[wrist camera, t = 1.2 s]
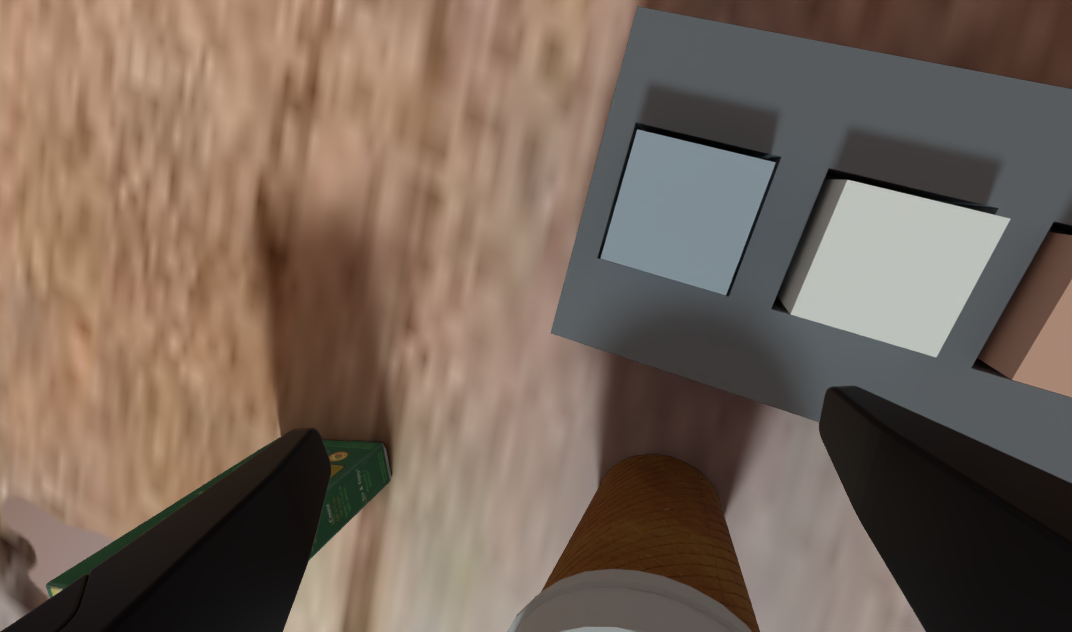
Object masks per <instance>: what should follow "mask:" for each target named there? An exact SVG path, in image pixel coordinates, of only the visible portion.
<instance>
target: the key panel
mask: <svg viewBox="0 0 1072 632" xmlns="http://www.w3.org/2000/svg"><path fill="white" fill-rule="evenodd" d="M637 129H638V130H642V131H646V132H650V133H654V134H659V135H663V136H667V137H671V138H675V139H680V140H684V141H688V142H692V143H696V144H700V145H705V146H709V147H713V148H717V149H721V150H725V151H730V152H734V153H738V154H742V155H746V156H751V157H755V158H759V159H763V160H767V161H771V162H776V163H775V166H774V169H773V171H772V174H771V177H770V179H769V182H768V185H767V187H766V190H765V193H764V195H763V198H762V201H761V203H760V206H759V209H758V211H757V214H756V217H755V219H754V222H753V225H752V227H751V230H750V233H749V235H748V238H747V241H746V243H745V246H744V249H743V251H742V254H741V257H740V259H739V262H738V265H737V267H736V270H735V273H734V275H733V278H732V281H731V283H730V286H729V289H728V291H727V294H726V295H722V294H719V293H716V292H712V291H709V290H706V289H702V288H699V287H695V286H692V285H689V284H685V283H682V282H678V281H675V280H672V279H668V278H665V277H661V276H658V275H655V274H651V273H648V272H644V271H641V270H638V269H634V268H631V267H627V266H624V265H621V264H617V263H614V262H611V261H607V260H604V259H601V255H602V251H603V248H604V244H605V241H606V237H607V234H608V230H609V227H610V223H611V220H612V216H613V213H614V209H615V206H616V202H617V199H618V195H619V192H620V188H621V185H622V181H623V178H624V174H625V171H626V167H627V164H628V160H629V157H630V153H631V150H632V146H633V143H634V139H635V136H636V132H637ZM824 179H838V180H851V181H855V182H859V183H863V184H868V185H872V186H876V187H880V188H884V189H888V190H893V191H897V192H901V193H905V194H909V195H914V196H918V197H922V198H926V199H930V200H934V201H939V202H943V203H947V204H951V205H955V206H959V207H964V208H968V209H972V210H976V211H980V212H985V213H989V214H993V215H997V216H1001V217H1005V218H1010V221H1009V223H1008V225H1007V227H1006V229H1005V230H1004V232H1003V234H1002V236H1001V238H1000V240H999V242H998V243H997V245H996V247H995V249H994V251H993V253H992V255H991V257H990V258H989V260H988V262H987V264H986V266H985V268H984V270H983V271H982V273H981V275H980V277H979V279H978V281H977V283H976V285H975V286H974V288H973V290H972V292H971V294H970V296H969V298H968V299H967V301H966V303H965V305H964V307H963V309H962V311H961V313H960V314H959V316H958V318H957V320H956V322H955V324H954V326H953V327H952V329H951V331H950V333H949V335H948V337H947V339H946V341H945V342H944V344H943V346H942V348H941V350H940V352H939V354H938V355H937V357H933V356H929V355H926V354H923V353H919V352H916V351H912V350H909V349H906V348H902V347H899V346H895V345H892V344H889V343H885V342H882V341H879V340H875V339H872V338H868V337H865V336H862V335H858V334H855V333H851V332H848V331H845V330H841V329H838V328H834V327H831V326H828V325H824V324H821V323H817V322H814V321H811V320H807V319H804V318H800V317H797V316H794V315H790V313H789V312H788V310H787V309H786V308H785V306H784V305H783V304H782V302H781V301H780V299H779V298H778V297H777V294H778V291H779V289H780V286H781V284H782V281H783V279H784V276H785V274H786V271H787V269H788V267H789V264H790V262H791V259H792V257H793V254H794V252H795V249H796V247H797V245H798V242H799V240H800V237H801V235H802V232H803V230H804V227H805V225H806V222H807V220H808V218H809V215H810V213H811V210H812V208H813V205H814V203H815V200H816V198H817V196H818V193H819V191H820V188H821V186H822V183H823V181H824ZM1048 232H1053V233H1059V234H1066V235H1072V89H1068V88H1063V87H1058V86H1052V85H1047V84H1042V83H1037V82H1031V81H1026V80H1021V79H1016V78H1010V77H1005V76H1000V75H995V74H989V73H984V72H979V71H974V70H968V69H963V68H958V67H953V66H947V65H942V64H937V63H932V62H926V61H921V60H916V59H911V58H905V57H900V56H895V55H890V54H884V53H879V52H874V51H869V50H863V49H858V48H853V47H848V46H842V45H837V44H832V43H827V42H821V41H816V40H811V39H806V38H800V37H795V36H790V35H785V34H779V33H774V32H769V31H764V30H758V29H753V28H748V27H743V26H737V25H732V24H727V23H722V22H716V21H711V20H706V19H701V18H696V17H690V16H685V15H680V14H675V13H669V12H664V11H659V10H654V9H648V8H643V7H638V6H637V10H636V14H635V17H634V21H633V25H632V29H631V32H630V36H629V40H628V44H627V47H626V51H625V55H624V59H623V63H622V66H621V70H620V74H619V78H618V81H617V85H616V89H615V93H614V96H613V100H612V104H611V108H610V111H609V115H608V119H607V123H606V127H605V130H604V134H603V138H602V142H601V145H600V149H599V153H598V157H597V160H596V164H595V168H594V172H593V176H592V179H591V183H590V187H589V191H588V194H587V198H586V202H585V206H584V209H583V213H582V217H581V221H580V224H579V228H578V232H577V236H576V240H575V243H574V247H573V251H572V255H571V258H570V262H569V266H568V270H567V273H566V277H565V281H564V285H563V288H562V292H561V296H560V300H559V304H558V307H557V311H556V315H555V319H554V322H553V326H552V330H551V333H552V334H555V335H558V336H561V337H564V338H567V339H570V340H573V341H576V342H579V343H582V344H585V345H588V346H591V347H594V348H597V349H600V350H603V351H606V352H609V353H612V354H615V355H618V356H621V357H624V358H627V359H630V360H633V361H636V362H639V363H642V364H645V365H648V366H651V367H654V368H657V369H660V370H663V371H666V372H669V373H673V374H676V375H679V376H682V377H685V378H688V379H691V380H694V381H697V382H700V383H703V384H706V385H709V386H712V387H715V388H718V389H721V390H724V391H727V392H730V393H733V394H736V395H739V396H742V397H745V398H748V399H751V400H754V401H757V402H760V403H763V404H766V405H769V406H772V407H775V408H778V409H781V410H784V411H787V412H790V413H793V414H796V415H799V416H802V417H805V418H808V419H811V420H814V421H817V422H820V416H821V411H822V406H823V401H824V396H825V393H826V390H827V389H828V388H829V387H831V386H840V385H856V386H858V387H861V388H863V389H865V390H867V391H869V392H872V393H874V394H876V395H878V396H880V397H883V398H885V399H887V400H889V401H891V402H894V403H896V404H898V405H900V406H902V407H905V408H907V409H909V410H911V411H914V412H916V413H918V414H920V415H922V416H925V417H927V418H929V419H931V420H933V421H936V422H938V423H940V424H942V425H944V426H947V427H949V428H951V429H953V430H956V431H958V432H960V433H962V434H964V435H967V436H969V437H971V438H973V439H975V440H978V441H980V442H982V443H984V444H987V445H989V446H991V447H993V448H995V449H998V450H1000V451H1002V452H1004V453H1006V454H1009V455H1011V456H1013V457H1015V458H1017V459H1020V460H1022V461H1024V462H1026V463H1029V464H1031V465H1033V466H1035V467H1037V468H1040V469H1042V470H1044V471H1046V472H1048V473H1051V474H1053V475H1055V476H1057V477H1059V478H1062V479H1064V480H1066V481H1068V482H1071V483H1072V397H1068V396H1065V395H1062V394H1058V393H1055V392H1052V391H1048V390H1045V389H1041V388H1038V387H1035V386H1031V385H1028V384H1024V383H1021V382H1018V381H1014V380H1011V379H1010V378H1008V377H1007V376H1005V375H1003V374H1002V373H1000V372H999V371H997V370H996V369H994V368H992V367H991V366H989V365H988V364H986V363H985V362H983V361H981V360H980V359H978V358H977V357H978V355H979V353H980V351H981V350H982V348H983V346H984V344H985V343H986V341H987V339H988V337H989V335H990V334H991V332H992V330H993V328H994V327H995V325H996V323H997V321H998V320H999V318H1000V316H1001V314H1002V312H1003V311H1004V309H1005V307H1006V305H1007V304H1008V302H1009V300H1010V298H1011V296H1012V295H1013V293H1014V291H1015V289H1016V288H1017V286H1018V284H1019V282H1020V281H1021V279H1022V277H1023V275H1024V273H1025V272H1026V270H1027V268H1028V266H1029V265H1030V263H1031V261H1032V259H1033V257H1034V256H1035V254H1036V252H1037V250H1038V249H1039V247H1040V245H1041V243H1042V242H1043V240H1044V238H1045V236H1046V234H1047V233H1048Z"/></svg>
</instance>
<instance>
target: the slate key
mask: <svg viewBox="0 0 1072 632" xmlns="http://www.w3.org/2000/svg"><path fill="white" fill-rule="evenodd" d="M775 163H776V162H771V161H767V160H763V159H759V158H755V157H751V156H746V155H742V154H738V153H734V152H730V151H725V150H721V149H717V148H713V147H709V146H705V145H700V144H696V143H692V142H688V141H684V140H680V139H675V138H671V137H667V136H663V135H659V134H654V133H650V132H646V131H642V130H638V129H637V132H636V136H635V139H634V143H633V146H632V150H631V153H630V157H629V160H628V164H627V167H626V171H625V174H624V178H623V181H622V185H621V188H620V192H619V195H618V199H617V202H616V206H615V209H614V213H613V216H612V220H611V223H610V227H609V230H608V234H607V237H606V241H605V244H604V248H603V251H602V255H601V259H604V260H607V261H611V262H614V263H617V264H621V265H624V266H627V267H631V268H634V269H638V270H641V271H644V272H648V273H651V274H655V275H658V276H661V277H665V278H668V279H672V280H675V281H678V282H682V283H685V284H689V285H692V286H695V287H699V288H702V289H706V290H709V291H712V292H716V293H719V294H722V295H726V294H727V291H728V289H729V286H730V283H731V281H732V278H733V275H734V273H735V270H736V267H737V265H738V262H739V259H740V257H741V254H742V251H743V249H744V246H745V243H746V241H747V238H748V235H749V233H750V230H751V227H752V225H753V222H754V219H755V217H756V214H757V211H758V209H759V206H760V203H761V201H762V198H763V195H764V193H765V190H766V187H767V185H768V182H769V179H770V177H771V174H772V171H773V169H774V166H775Z"/></svg>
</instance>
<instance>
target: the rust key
mask: <svg viewBox="0 0 1072 632" xmlns="http://www.w3.org/2000/svg"><path fill="white" fill-rule="evenodd" d="M977 358H978V359H980V360H981V361H983V362H985V363H986V364H988V365H989V366H991V367H992V368H994V369H996V370H997V371H999V372H1000V373H1002V374H1003V375H1005V376H1007V377H1008V378H1010V379H1011V380H1014V381H1018V382H1021V383H1024V384H1028V385H1031V386H1035V387H1038V388H1041V389H1045V390H1048V391H1052V392H1055V393H1058V394H1062V395H1065V396H1068V397H1072V235H1066V234H1059V233H1053V232H1048V233H1047V234H1046V236H1045V238H1044V240H1043V242H1042V243H1041V245H1040V247H1039V249H1038V250H1037V252H1036V254H1035V256H1034V257H1033V259H1032V261H1031V263H1030V265H1029V266H1028V268H1027V270H1026V272H1025V273H1024V275H1023V277H1022V279H1021V281H1020V282H1019V284H1018V286H1017V288H1016V289H1015V291H1014V293H1013V295H1012V296H1011V298H1010V300H1009V302H1008V304H1007V305H1006V307H1005V309H1004V311H1003V312H1002V314H1001V316H1000V318H999V320H998V321H997V323H996V325H995V327H994V328H993V330H992V332H991V334H990V335H989V337H988V339H987V341H986V343H985V344H984V346H983V348H982V350H981V351H980V353H979V355H978V357H977Z"/></svg>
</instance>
